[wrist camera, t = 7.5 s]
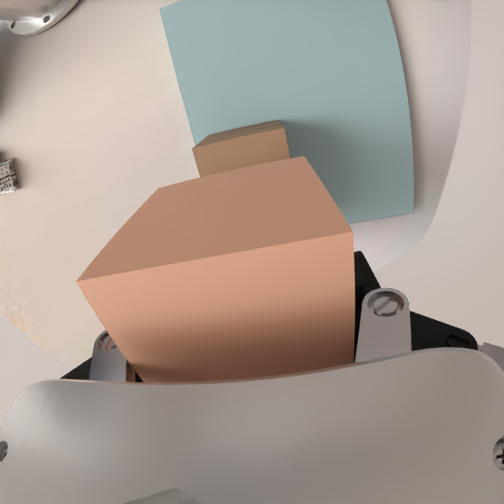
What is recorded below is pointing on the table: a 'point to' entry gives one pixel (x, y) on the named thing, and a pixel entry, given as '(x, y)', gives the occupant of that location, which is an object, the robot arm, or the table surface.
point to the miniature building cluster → (7, 177)
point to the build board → (304, 88)
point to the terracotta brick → (230, 278)
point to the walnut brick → (241, 148)
